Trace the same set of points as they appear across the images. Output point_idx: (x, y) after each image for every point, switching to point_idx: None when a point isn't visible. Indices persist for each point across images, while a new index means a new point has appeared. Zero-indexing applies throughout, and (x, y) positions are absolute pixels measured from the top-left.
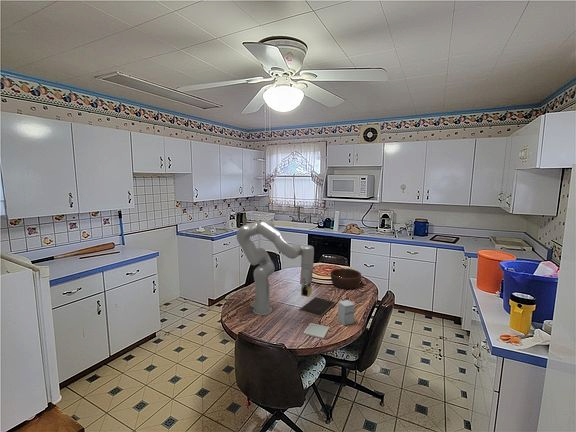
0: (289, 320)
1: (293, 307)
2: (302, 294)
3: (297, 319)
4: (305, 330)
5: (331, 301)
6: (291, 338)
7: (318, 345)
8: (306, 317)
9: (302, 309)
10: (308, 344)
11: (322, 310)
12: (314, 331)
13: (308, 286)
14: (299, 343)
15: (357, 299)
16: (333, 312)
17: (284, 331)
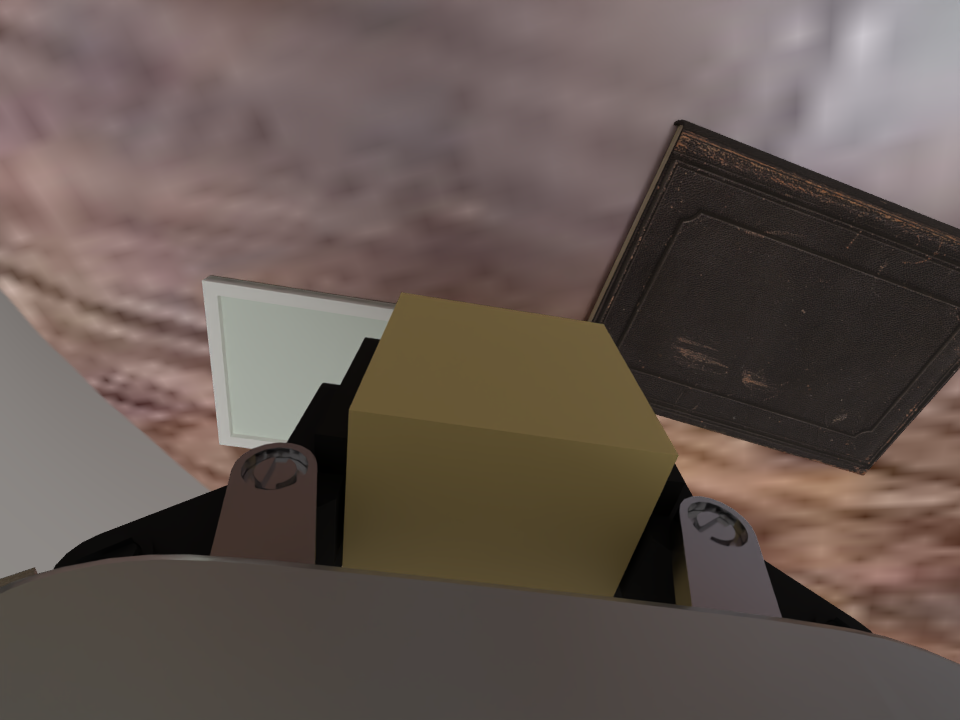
0: (417, 46)
1: (792, 4)
2: (364, 350)
3: (469, 148)
4: (247, 291)
5: (882, 446)
6: (78, 175)
7: (126, 413)
8: (539, 242)
9: (676, 171)
10: (90, 344)
11: (669, 391)
12: (284, 365)
13: (555, 585)
14: (54, 270)
15: (927, 597)
16: (679, 461)
17: (154, 53)
